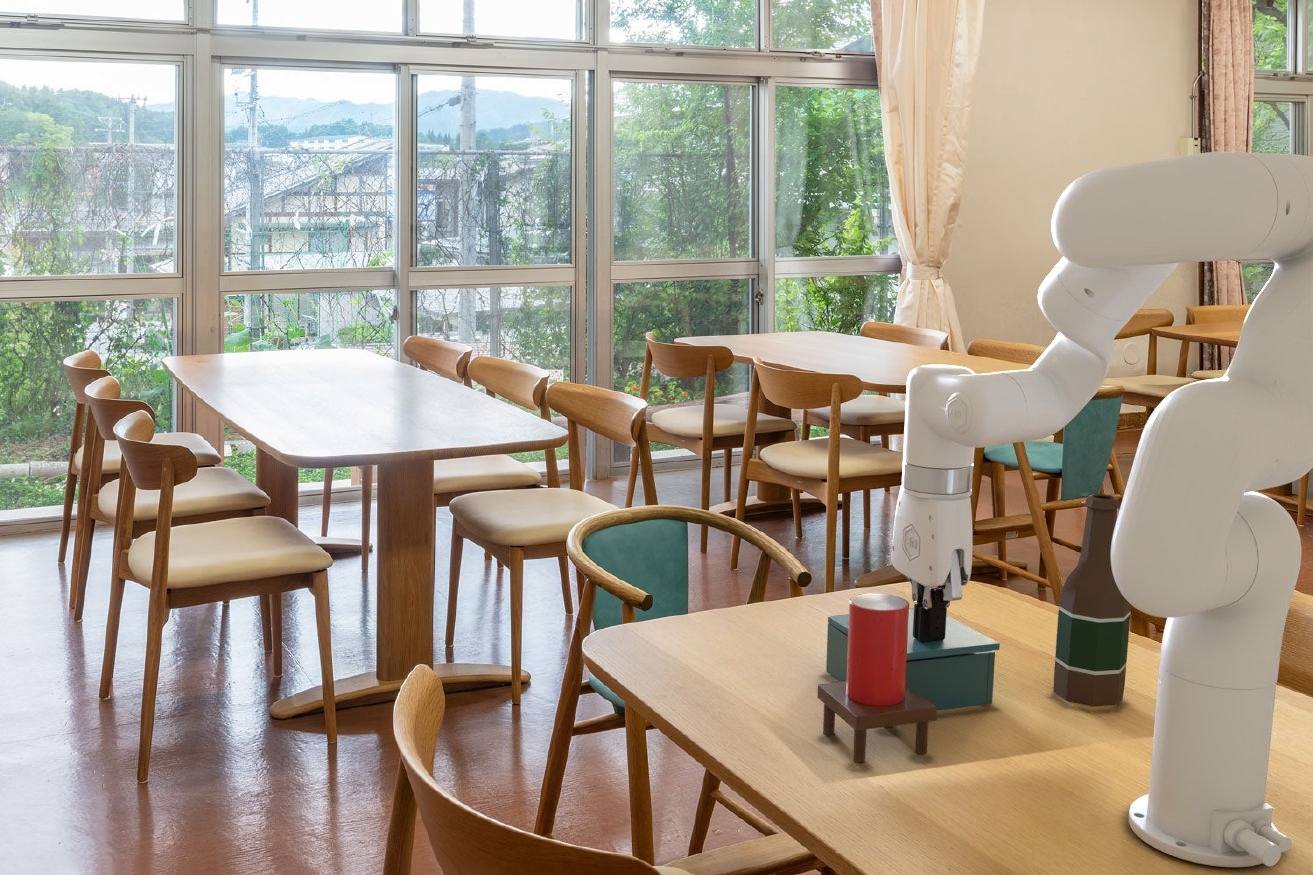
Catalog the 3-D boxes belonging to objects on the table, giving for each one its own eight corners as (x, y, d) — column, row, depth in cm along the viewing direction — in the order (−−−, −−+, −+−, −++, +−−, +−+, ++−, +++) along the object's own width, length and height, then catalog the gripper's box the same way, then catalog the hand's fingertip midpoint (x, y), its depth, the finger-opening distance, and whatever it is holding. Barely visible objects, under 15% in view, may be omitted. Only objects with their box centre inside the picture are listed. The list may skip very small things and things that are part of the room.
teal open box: (991, 709, 143) (995, 652, 142) (883, 723, 139) (886, 664, 137) (926, 665, 156) (928, 612, 155) (825, 677, 152) (827, 622, 151)
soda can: (915, 702, 129) (920, 607, 127) (862, 708, 127) (866, 612, 125) (887, 681, 135) (891, 590, 133) (836, 687, 133) (839, 595, 131)
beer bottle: (1128, 716, 141) (1145, 506, 137) (1056, 709, 143) (1070, 502, 139) (1118, 690, 149) (1133, 490, 145) (1049, 684, 150) (1062, 487, 146)
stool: (934, 762, 129) (937, 706, 128) (854, 773, 126) (856, 716, 125) (891, 727, 138) (893, 675, 136) (815, 737, 135) (817, 684, 134)
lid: (999, 649, 141) (1000, 643, 141) (890, 662, 137) (890, 655, 136) (928, 612, 155) (928, 605, 155) (827, 622, 151) (827, 615, 151)
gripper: (874, 467, 144) (867, 621, 148) (942, 495, 130) (933, 665, 134) (932, 463, 147) (924, 615, 150) (1005, 491, 133) (995, 658, 136)
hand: (928, 638), depth 142 cm, fingers closed
